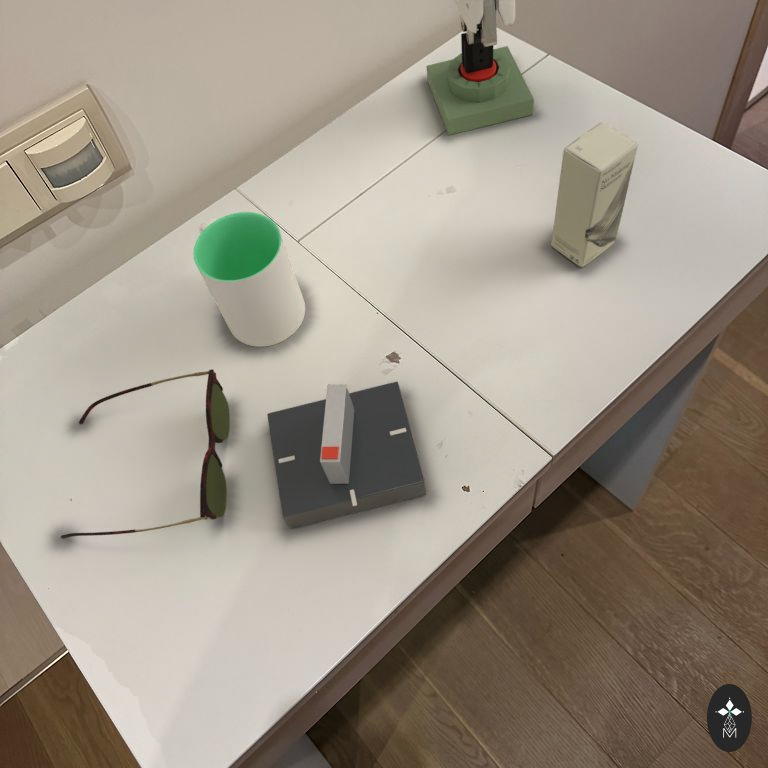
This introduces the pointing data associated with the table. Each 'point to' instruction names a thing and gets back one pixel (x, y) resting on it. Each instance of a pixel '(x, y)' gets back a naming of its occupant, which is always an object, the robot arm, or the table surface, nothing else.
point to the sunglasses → (212, 473)
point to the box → (592, 192)
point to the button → (479, 74)
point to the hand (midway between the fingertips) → (477, 66)
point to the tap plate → (367, 466)
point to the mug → (250, 277)
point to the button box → (479, 94)
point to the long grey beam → (337, 434)
